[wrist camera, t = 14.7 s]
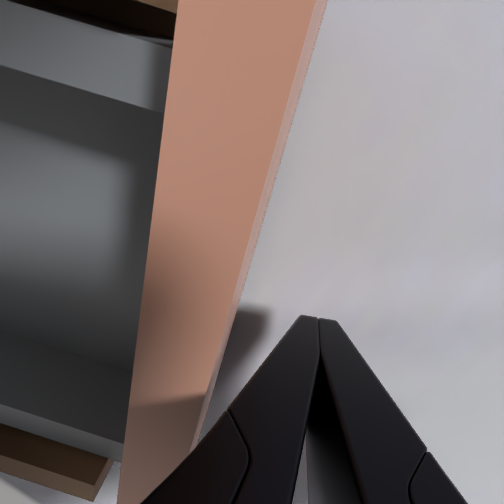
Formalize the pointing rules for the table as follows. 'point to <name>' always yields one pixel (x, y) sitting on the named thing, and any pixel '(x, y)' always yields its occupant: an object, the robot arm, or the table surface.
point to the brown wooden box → (31, 445)
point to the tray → (135, 214)
